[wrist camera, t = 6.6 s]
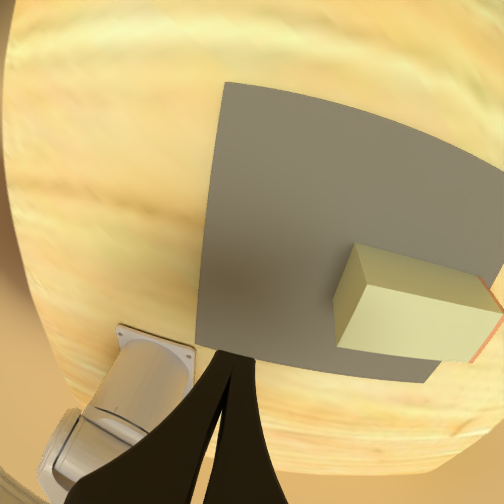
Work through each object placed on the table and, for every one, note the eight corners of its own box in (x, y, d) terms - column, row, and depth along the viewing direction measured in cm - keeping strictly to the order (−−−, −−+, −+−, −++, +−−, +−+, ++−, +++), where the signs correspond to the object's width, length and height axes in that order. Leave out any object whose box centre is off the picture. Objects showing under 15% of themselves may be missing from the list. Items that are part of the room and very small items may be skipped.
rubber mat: (422, 378, 24) (423, 383, 23) (196, 339, 25) (194, 344, 24) (528, 188, 14) (533, 190, 13) (227, 82, 15) (225, 81, 14)
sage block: (332, 299, 20) (453, 322, 19) (336, 346, 16) (472, 363, 15) (354, 242, 18) (480, 277, 17) (366, 284, 14) (507, 314, 13)
